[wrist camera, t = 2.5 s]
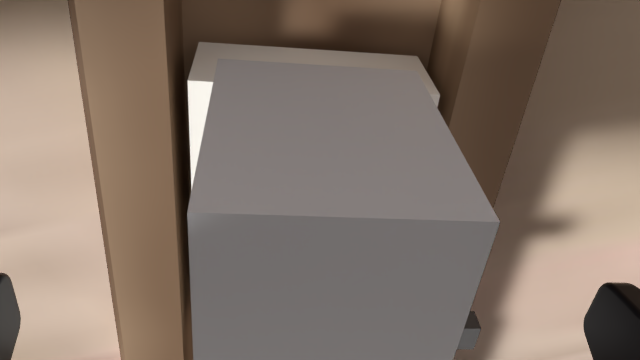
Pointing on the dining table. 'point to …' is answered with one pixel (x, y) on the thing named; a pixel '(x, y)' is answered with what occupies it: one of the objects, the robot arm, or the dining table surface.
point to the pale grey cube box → (328, 209)
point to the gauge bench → (277, 31)
